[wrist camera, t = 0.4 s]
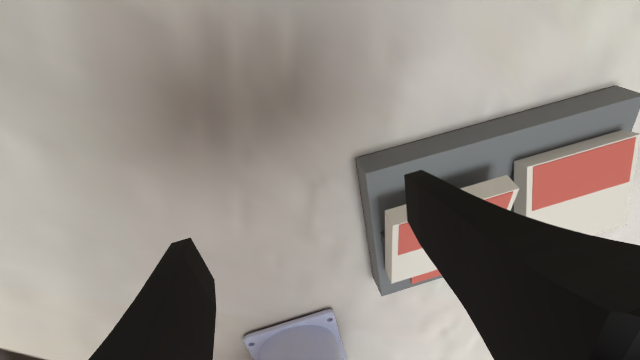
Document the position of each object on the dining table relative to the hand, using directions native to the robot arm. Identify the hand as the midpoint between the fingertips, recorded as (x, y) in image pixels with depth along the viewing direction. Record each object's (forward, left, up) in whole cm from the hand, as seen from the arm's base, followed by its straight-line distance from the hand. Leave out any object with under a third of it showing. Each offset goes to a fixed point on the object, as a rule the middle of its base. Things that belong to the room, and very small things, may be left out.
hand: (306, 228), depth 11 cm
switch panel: (-10, -14, -10) cm, 20 cm away
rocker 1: (-10, -9, -7) cm, 15 cm away
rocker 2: (-10, -18, -7) cm, 22 cm away
